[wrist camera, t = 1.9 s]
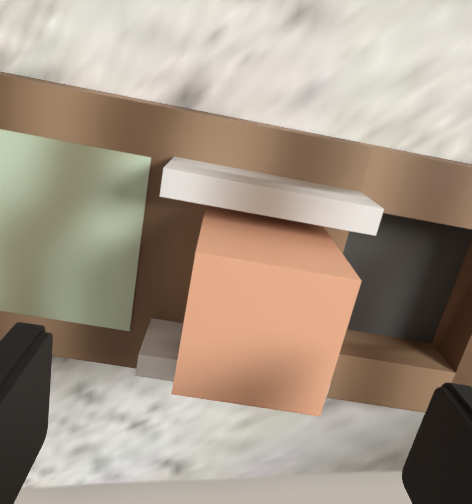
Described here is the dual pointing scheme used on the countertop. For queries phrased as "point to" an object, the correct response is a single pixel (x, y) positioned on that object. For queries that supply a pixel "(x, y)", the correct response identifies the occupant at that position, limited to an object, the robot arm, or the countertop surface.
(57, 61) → the countertop surface
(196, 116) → the track
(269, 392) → the block
